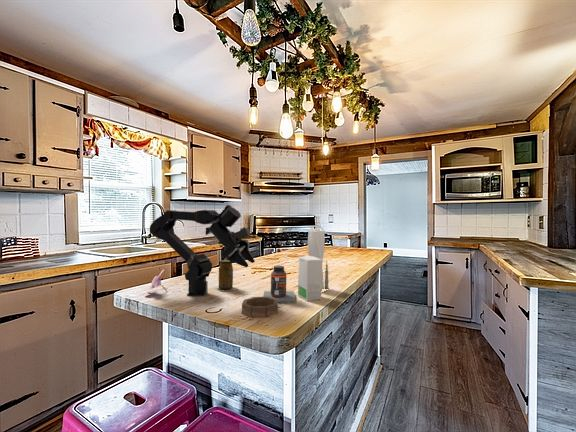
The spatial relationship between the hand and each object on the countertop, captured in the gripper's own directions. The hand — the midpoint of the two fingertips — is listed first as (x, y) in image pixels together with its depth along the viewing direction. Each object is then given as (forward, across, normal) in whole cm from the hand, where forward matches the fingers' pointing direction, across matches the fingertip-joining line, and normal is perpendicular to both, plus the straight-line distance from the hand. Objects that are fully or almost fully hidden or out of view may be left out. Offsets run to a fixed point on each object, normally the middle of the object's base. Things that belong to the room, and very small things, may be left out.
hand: (250, 264), depth 108 cm
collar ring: (+14, -14, +4) cm, 20 cm away
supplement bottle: (+16, +1, +1) cm, 16 cm away
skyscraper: (+27, +16, -8) cm, 32 cm away
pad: (+17, +1, +1) cm, 17 cm away
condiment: (0, +12, +19) cm, 23 cm away
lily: (-18, 0, +37) cm, 42 cm away
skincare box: (+25, +4, -7) cm, 26 cm away
